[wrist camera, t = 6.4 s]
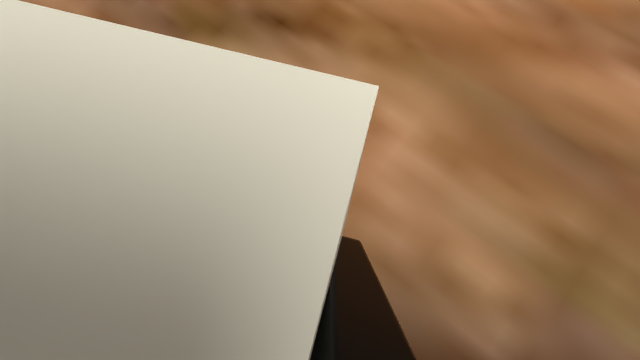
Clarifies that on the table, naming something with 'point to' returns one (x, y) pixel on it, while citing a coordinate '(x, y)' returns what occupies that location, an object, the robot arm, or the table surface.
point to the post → (165, 193)
